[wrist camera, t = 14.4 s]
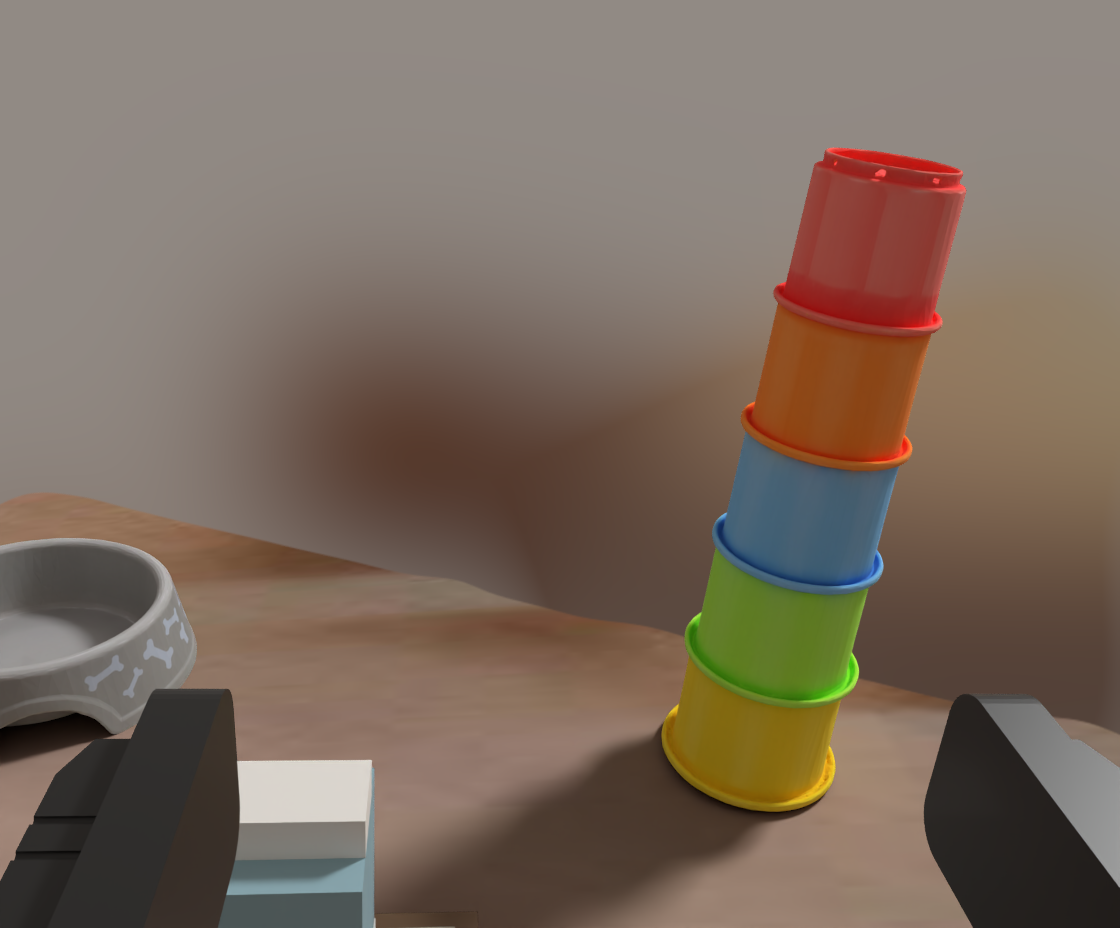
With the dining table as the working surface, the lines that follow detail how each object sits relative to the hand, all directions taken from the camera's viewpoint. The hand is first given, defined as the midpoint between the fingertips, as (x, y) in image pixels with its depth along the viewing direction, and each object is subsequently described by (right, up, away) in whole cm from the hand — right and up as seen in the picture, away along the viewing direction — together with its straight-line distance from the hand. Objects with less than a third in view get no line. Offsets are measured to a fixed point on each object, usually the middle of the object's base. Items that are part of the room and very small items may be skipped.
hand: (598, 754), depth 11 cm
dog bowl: (-33, -10, +52) cm, 62 cm away
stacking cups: (+11, -14, +49) cm, 52 cm away
